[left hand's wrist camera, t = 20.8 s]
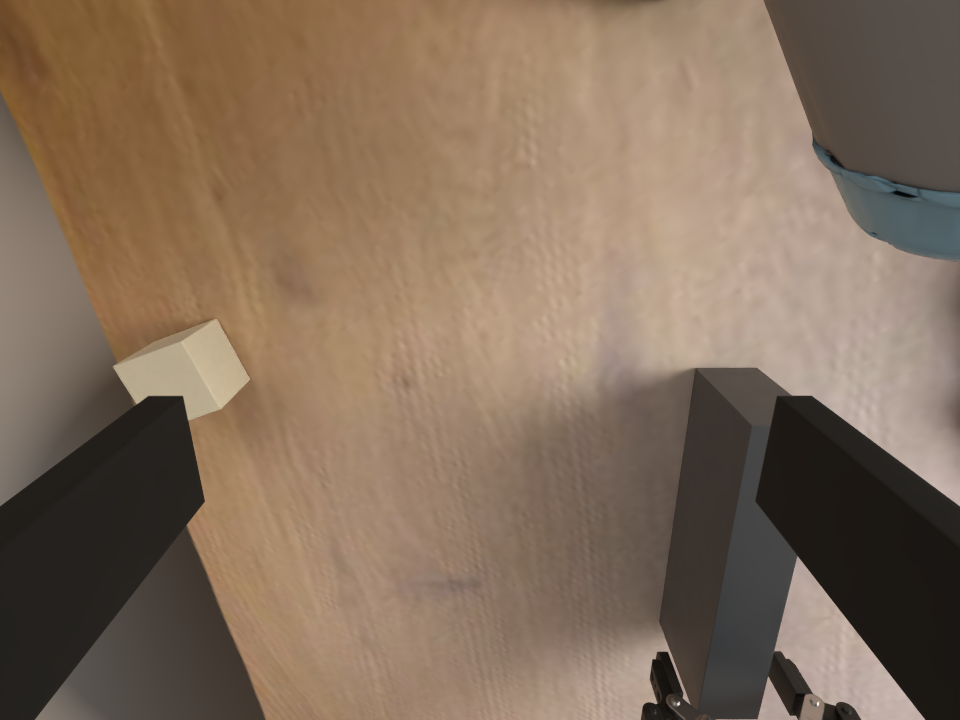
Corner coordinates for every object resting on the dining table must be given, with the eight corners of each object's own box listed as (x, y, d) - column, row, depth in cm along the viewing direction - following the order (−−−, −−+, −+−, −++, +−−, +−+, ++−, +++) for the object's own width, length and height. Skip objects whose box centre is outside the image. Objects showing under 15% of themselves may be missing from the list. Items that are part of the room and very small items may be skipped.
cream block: (154, 340, 40) (111, 366, 35) (216, 318, 39) (181, 340, 35) (191, 400, 42) (154, 432, 37) (250, 379, 41) (221, 409, 36)
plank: (695, 367, 41) (751, 425, 32) (757, 367, 41) (829, 424, 32) (659, 621, 49) (696, 719, 41) (710, 621, 49) (757, 719, 41)
